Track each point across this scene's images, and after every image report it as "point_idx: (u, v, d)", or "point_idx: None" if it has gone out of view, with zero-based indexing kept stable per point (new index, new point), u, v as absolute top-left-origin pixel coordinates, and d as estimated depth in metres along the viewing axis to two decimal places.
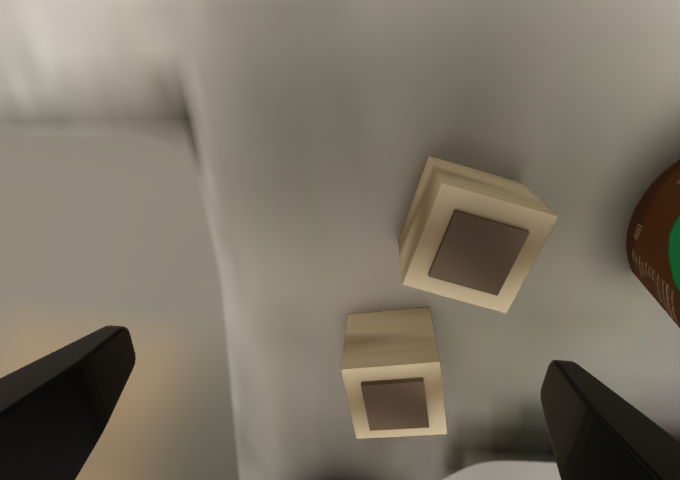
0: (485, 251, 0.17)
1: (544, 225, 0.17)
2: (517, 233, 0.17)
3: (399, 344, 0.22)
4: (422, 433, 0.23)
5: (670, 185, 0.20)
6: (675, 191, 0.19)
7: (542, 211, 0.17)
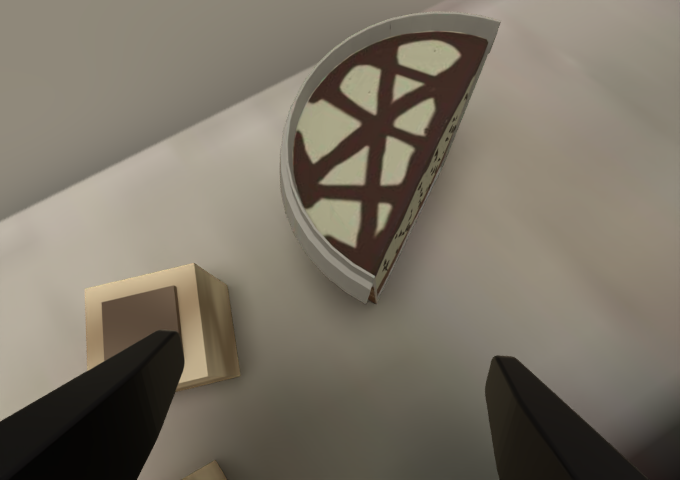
0: (144, 322, 0.18)
1: (187, 275, 0.18)
2: (163, 291, 0.18)
3: None
4: None
5: None
6: None
7: None
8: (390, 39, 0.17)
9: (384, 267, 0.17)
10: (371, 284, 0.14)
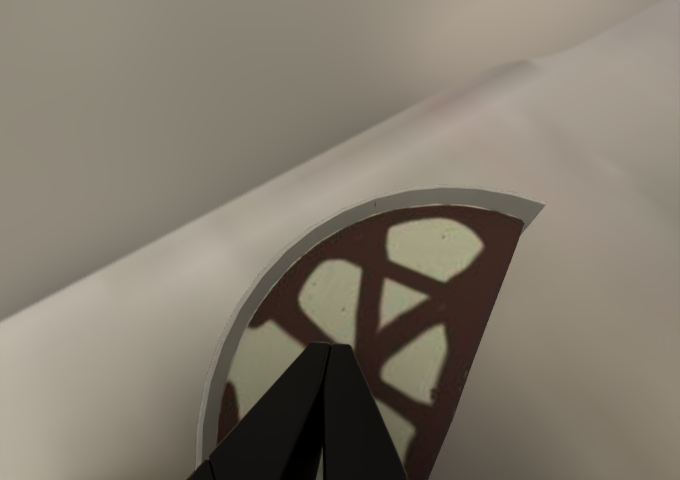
0: None
1: None
2: None
3: None
4: None
5: None
6: None
7: None
8: (376, 218, 0.11)
9: None
10: None
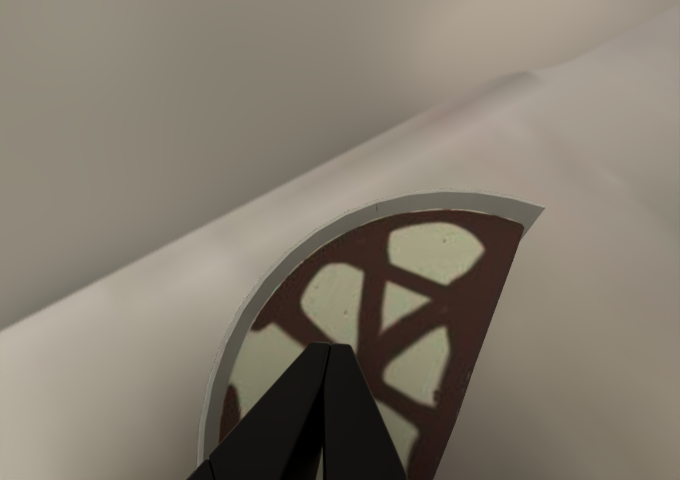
0: None
1: None
2: None
3: None
4: None
5: None
6: None
7: None
8: (378, 222, 0.11)
9: None
10: None
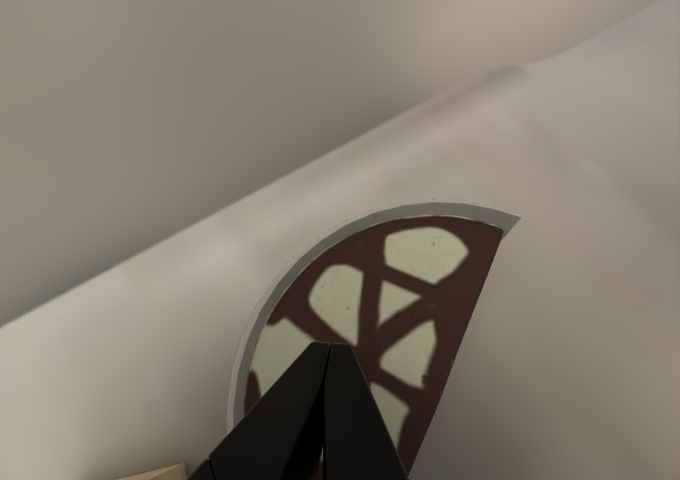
0: None
1: None
2: None
3: None
4: None
5: None
6: None
7: None
8: (375, 228, 0.13)
9: None
10: None
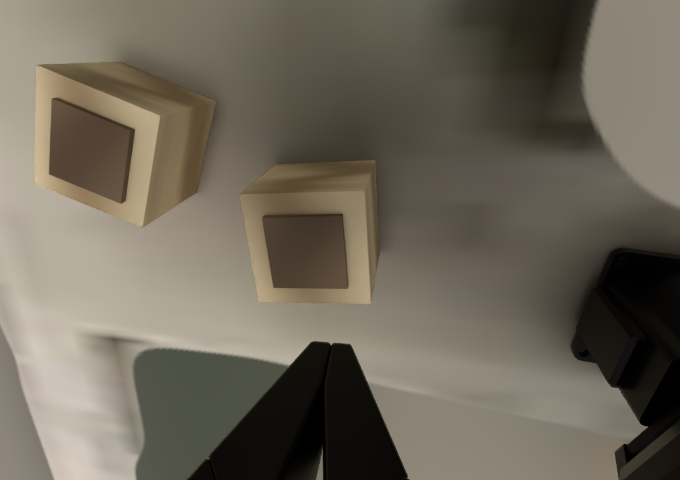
0: (81, 145, 0.16)
1: (48, 79, 0.16)
2: (55, 111, 0.16)
3: None
4: (362, 223, 0.16)
5: None
6: None
7: (38, 81, 0.16)
8: None
9: None
10: None
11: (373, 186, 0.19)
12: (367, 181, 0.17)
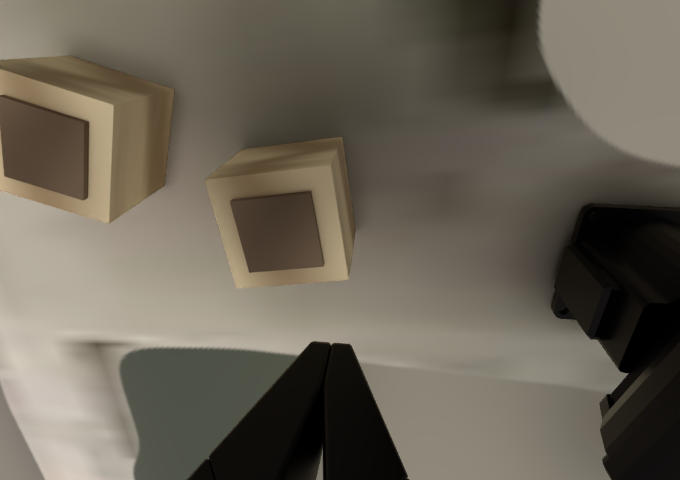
0: (35, 143, 0.16)
1: None
2: (3, 109, 0.15)
3: None
4: (332, 198, 0.16)
5: None
6: None
7: None
8: None
9: None
10: None
11: (342, 162, 0.19)
12: (333, 156, 0.16)
